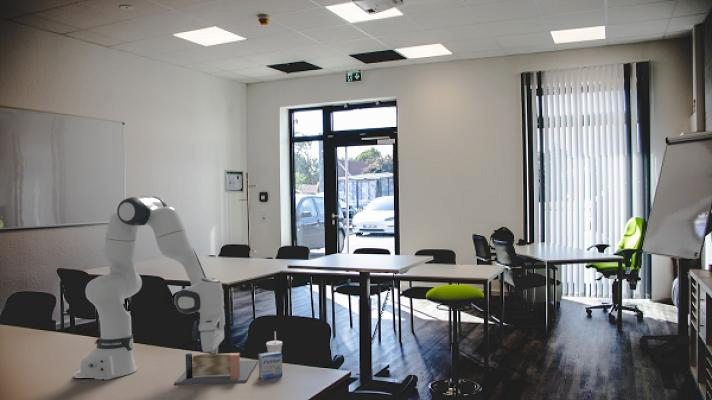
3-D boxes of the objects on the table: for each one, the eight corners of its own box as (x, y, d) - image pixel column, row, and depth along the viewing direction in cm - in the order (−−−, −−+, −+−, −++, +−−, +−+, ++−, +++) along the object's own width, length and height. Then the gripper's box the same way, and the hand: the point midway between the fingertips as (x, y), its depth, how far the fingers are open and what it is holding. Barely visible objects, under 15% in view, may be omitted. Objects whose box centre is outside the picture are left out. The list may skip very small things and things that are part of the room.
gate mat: (174, 384, 197) (174, 382, 197) (193, 364, 221) (193, 362, 221) (246, 382, 197) (246, 380, 197) (257, 362, 221) (257, 360, 221)
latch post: (230, 381, 198) (229, 355, 198) (232, 379, 201) (231, 353, 201) (238, 381, 198) (237, 355, 198) (240, 378, 201) (239, 353, 201)
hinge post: (185, 380, 200) (184, 355, 200) (187, 378, 203) (186, 353, 203) (191, 380, 200) (191, 354, 200) (193, 378, 203) (193, 353, 203)
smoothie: (280, 369, 210) (278, 333, 210) (264, 369, 211) (263, 333, 211) (285, 364, 216) (284, 329, 216) (270, 364, 218) (269, 329, 218)
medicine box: (262, 379, 199) (261, 356, 199) (258, 376, 203) (257, 353, 203) (282, 376, 203) (282, 352, 203) (278, 372, 207) (278, 350, 207)
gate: (192, 376, 201) (192, 355, 201) (194, 374, 203) (194, 354, 203) (240, 374, 201) (239, 354, 201) (241, 372, 204) (240, 352, 204)
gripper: (211, 315, 214) (213, 350, 214) (197, 327, 194) (199, 366, 194) (227, 314, 214) (229, 349, 214) (214, 326, 194) (217, 365, 194)
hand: (214, 357), depth 204 cm, fingers closed
